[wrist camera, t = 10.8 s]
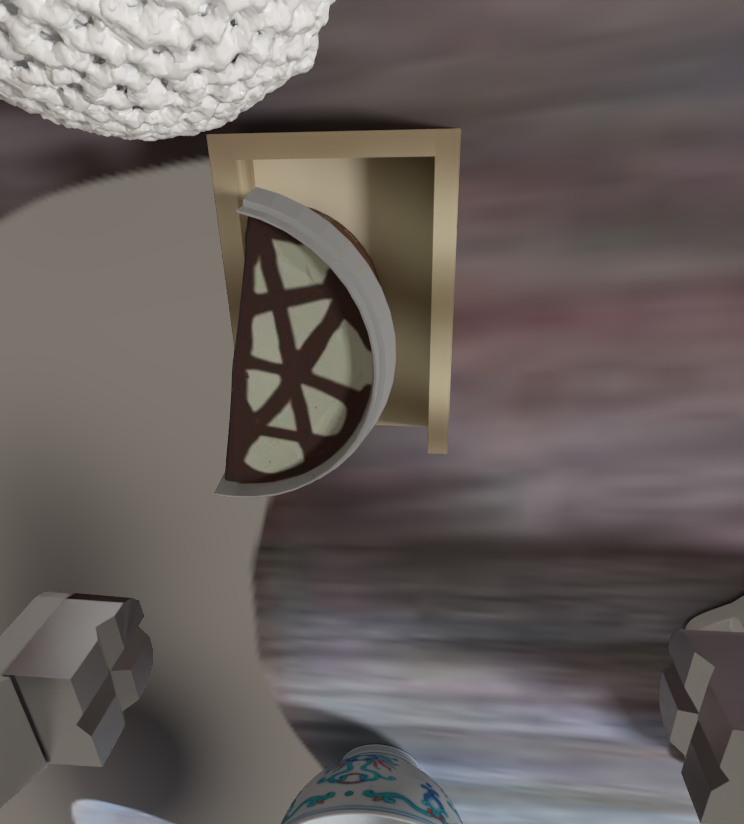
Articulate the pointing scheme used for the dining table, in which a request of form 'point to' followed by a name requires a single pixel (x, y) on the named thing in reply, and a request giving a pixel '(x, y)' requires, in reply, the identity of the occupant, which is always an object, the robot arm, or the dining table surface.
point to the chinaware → (372, 792)
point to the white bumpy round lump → (152, 60)
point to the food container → (303, 350)
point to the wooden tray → (366, 236)
